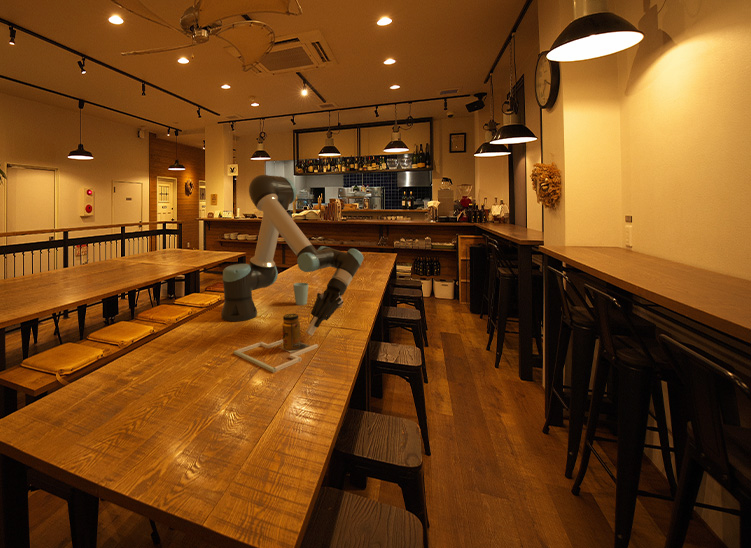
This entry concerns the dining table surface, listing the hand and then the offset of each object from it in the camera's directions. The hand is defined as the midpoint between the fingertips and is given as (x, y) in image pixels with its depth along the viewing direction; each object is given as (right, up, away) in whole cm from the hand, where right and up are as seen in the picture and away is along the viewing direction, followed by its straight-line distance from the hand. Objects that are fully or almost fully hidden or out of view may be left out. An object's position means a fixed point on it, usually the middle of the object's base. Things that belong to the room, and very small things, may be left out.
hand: (308, 333), depth 131 cm
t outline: (-9, -5, -10) cm, 14 cm away
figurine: (+5, +6, +47) cm, 47 cm away
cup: (-14, +7, +51) cm, 53 cm away
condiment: (-4, -4, -5) cm, 8 cm away
